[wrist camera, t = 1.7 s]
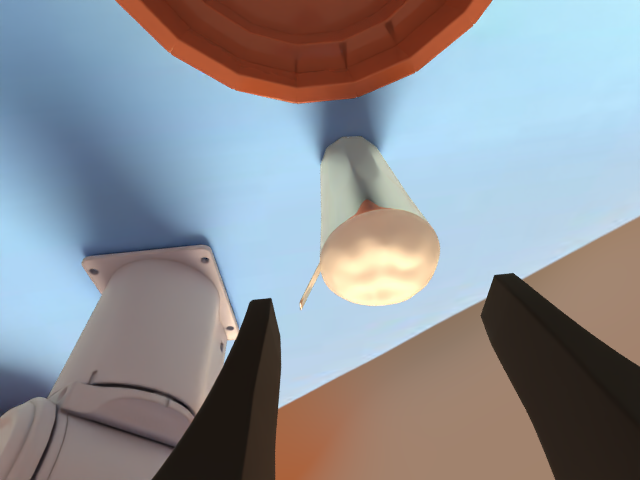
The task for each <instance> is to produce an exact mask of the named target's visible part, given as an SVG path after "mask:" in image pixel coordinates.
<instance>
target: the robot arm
mask: <svg viewBox="0 0 640 480" xmlns="http://www.w3.org/2000/svg"><path fill="white" fill-rule="evenodd" d="M203 257H206V258H208V259H204V258H203ZM82 266H83V268H84V269H85V271H86V272H87V274H88V275H89V277H90V278H91V280H92V281H93V283H94V284H95V286H96V287H97V289H98V290H99V292H100V293H101V294H102V296H101V298H100V299H99V301H98V303H97V305H96V307H95V309H94V311H93V313H92V315H91V316H90V318H89V320H88V322H87V324H86V326H85V328H84V330H83V332H82V333H81V335H80V337H79V339H78V341H77V343H76V345H75V347H74V349H73V350H72V352H71V354H70V356H69V358H68V360H67V362H66V364H65V366H64V367H63V369H62V371H61V373H60V375H59V377H58V379H57V381H56V383H55V385H54V386H53V388H52V390H51V392H50V394H49V396H48V398H47V399H46V398H42V397H36V398H33V399H31V400H29V401H27V402H25V403H24V404H21V405H19V406H16V407H14V408H12V409H10V410H9V411H7V412H6V413H5V414H3V415H2V416H1V417H0V480H275V440H276V426H277V414H278V401H279V389H280V375H281V343H280V333H279V329H278V325H277V320H276V316H275V312H274V308H273V303H272V299H271V298H268V299H258V300H252V301H251V302H250V303H249V306H248V309H247V312H246V315H245V317H244V320H243V323H242V325H241V328H240V330H239V327H238V324H237V321H236V319H235V316H234V313H233V310H232V307H231V304H230V301H229V298H228V296H227V293H226V290H225V287H224V284H223V281H222V278H221V275H220V273H219V270H218V267H217V264H216V261H215V258H214V255H213V252H212V250H211V248H210V247H209V246H207V245H194V246H184V247H174V248H164V249H154V250H145V251H135V252H125V253H115V254H105V255H96V256H88V257H85V258H84V259H83V261H82ZM94 269H96V270H94ZM481 318H482V321H483V323H484V326H485V329H486V332H487V334H488V337H489V340H490V342H491V345H492V347H493V348H494V350H495V352H496V354H497V356H498V358H499V360H500V362H501V364H502V366H503V368H504V370H505V371H506V373H507V375H508V377H509V379H510V381H511V383H512V385H513V386H514V388H515V390H516V392H517V394H518V396H519V398H520V400H521V402H522V403H523V405H524V407H525V409H526V411H527V413H528V415H529V417H530V419H531V421H532V423H533V426H534V428H535V430H536V433H537V435H538V437H539V440H540V442H541V445H542V447H543V449H544V452H545V454H546V457H547V459H548V462H549V465H550V467H551V469H552V472H553V475H554V477H555V480H640V367H639V366H638V365H636V364H635V363H633V362H631V361H630V360H628V359H627V358H625V357H624V356H622V355H621V354H619V353H618V352H616V351H615V350H613V349H612V348H610V347H609V346H608V345H606V344H605V343H604V342H602V341H601V340H599V339H598V338H596V337H595V336H594V335H592V334H591V333H589V332H588V331H587V330H585V329H584V328H583V327H581V326H580V325H579V324H577V323H576V322H575V321H573V320H572V319H571V318H569V317H568V316H567V315H566V314H564V313H563V312H562V311H560V310H559V309H558V308H557V307H555V306H554V305H553V304H552V303H550V302H549V301H548V300H546V299H545V298H544V297H543V296H541V295H540V294H539V293H538V292H536V291H535V290H534V289H533V288H532V287H530V286H529V285H528V284H527V283H525V282H524V281H523V280H521V279H520V278H519V277H518V276H516V275H515V274H514V273H510V274H500V275H494V278H493V281H492V284H491V287H490V290H489V293H488V296H487V299H486V301H485V305H484V307H483V311H482V313H481ZM235 339H236V340H235ZM227 340H235V342H234V344H233V346H232V348H231V351H230V353H229V355H228V357H227V359H226V361H225V363H224V358H225V351H226V344H227ZM223 364H224V366H223Z"/></svg>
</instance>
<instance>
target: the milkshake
mask: <svg viewBox="0 0 640 480" xmlns="http://www.w3.org/2000/svg"><path fill="white" fill-rule="evenodd" d="M320 186H321V240H320V263H319V265H318V267H317V269H316V271H315V272H314V274H313V276H312V278H311V280H310V282H309V284H308V286H307V288H306V290H305V292H304V294H303V296H302V298H301V300H300V310H302V308H303V306H304V304H305V302H306V300H307V298H308V296H309V294H310V292H311V290H312V288H313V286H314V284H315V282H316V280H317V278H318V276H319V273H320V271H321V274H322V277H323V280H324V282H325V283H326V285H327V286H328V288H329V289H330V290H331V291H333V292H334V293H335V294H337V295H338V296H340V297H342V298H343V299H345V300H348V301H350V302H353V303H357V304H361V305H369V306H378V305H389V304H395V303H399V302H403V301H405V300H407V299H409V298H411V297H412V296H414V295H415V294H416V293H418V292H419V291H420V290H422V289H423V288H424V287H425V286H426V285H427V284H428V282H429V281H430V279H431V278H432V276H433V274H434V271H435V269H436V266H437V263H438V260H439V254H440V245H439V240H438V237H437V235H436V233H435V231H434V229H433V228H432V227H431V225H430V224H429V223H428V221H427V220H426V218H425V217H424V216H423V214H422V213H421V212H420V210H419V209H418V208H417V206H416V205H415V204H414V202H413V201H412V199H411V198H410V197H409V195H408V194H407V192H406V191H405V189H404V188H403V186H402V185H401V183H400V182H399V180H398V179H397V177H396V176H395V174H394V173H393V171H392V170H391V168H390V167H389V165H388V164H387V162H386V161H385V159H384V158H383V156H382V155H381V153H380V152H379V150H378V149H377V147H376V146H374V145H373V144H372V143H370V142H369V141H367V140H366V139H365V138H363V137H362V136H350V137H341V138H340V139H338V140H337V141H335V142H334V143H333V144H331V145H330V146H328V147H327V148H326V150H325V153H324V156H323V159H322V162H321V164H320Z"/></svg>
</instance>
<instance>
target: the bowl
mask: <svg viewBox="0 0 640 480" xmlns="http://www.w3.org/2000/svg"><path fill="white" fill-rule="evenodd" d="M115 1H116V2H117V3H118V4H119V5H120V6H121V7H122V8H123V9H124V10H125V11H126V12H128V13H129V14H130V15H131V16H132V17H133V18H134V19H135V20H136V21H137V22H138V23H139V24H140V25H141V26H142V27H143V28H144V29H145V30H146V31H147V32H148V33H149V34H150V35H151V36H152V37H153V38H154V39H155V40H156V41H157V42H158V43H159V44H160V45H162V46H163V47H164V48H165V49H166V50H167V51H168V52H169V53H171V54H172V55H173V56H175V57H176V58H178V59H180V60H182V61H183V62H185V63H187V64H189V65H191V66H192V67H194V68H196V69H198V70H199V71H201V72H203V73H205V74H206V75H208V76H210V77H212V78H214V79H215V80H217V81H219V82H221V83H222V84H224V85H226V86H228V87H229V88H231V89H235V90H236V91H241V92H245V93H250V94H254V95H258V96H263V97H267V98H272V99H276V100H281V101H285V102H290V103H297V104H301V103H311V102H321V101H331V100H342V99H352V98H356V97H360V96H362V95H365V94H367V93H369V92H372V91H374V90H376V89H379V88H381V87H383V86H386V85H388V84H390V83H393V82H395V81H397V80H400V79H402V78H404V77H406V76H409V75H411V74H413V73H415V71H416V72H417V71H418V70H420V69H421V68H422V67H423V66H425V65H426V64H427V63H428V62H429V61H431V60H432V59H433V58H434V57H436V56H437V55H438V54H439V53H440V52H442V51H443V50H444V49H445V48H447V47H448V46H449V45H450V44H451V43H453V42H454V41H455V40H456V39H458V38H459V37H460V36H461V35H462V34H464V33H465V32H466V31H467V30H469V29H470V28H471V27H472V26H473V24H475V23H476V22H477V20H478V19H479V18H480V16H481V15H482V14H483V12H484V11H485V10H486V8H487V7H488V6H489V4H490V3H491V2H492V0H115Z"/></svg>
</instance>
